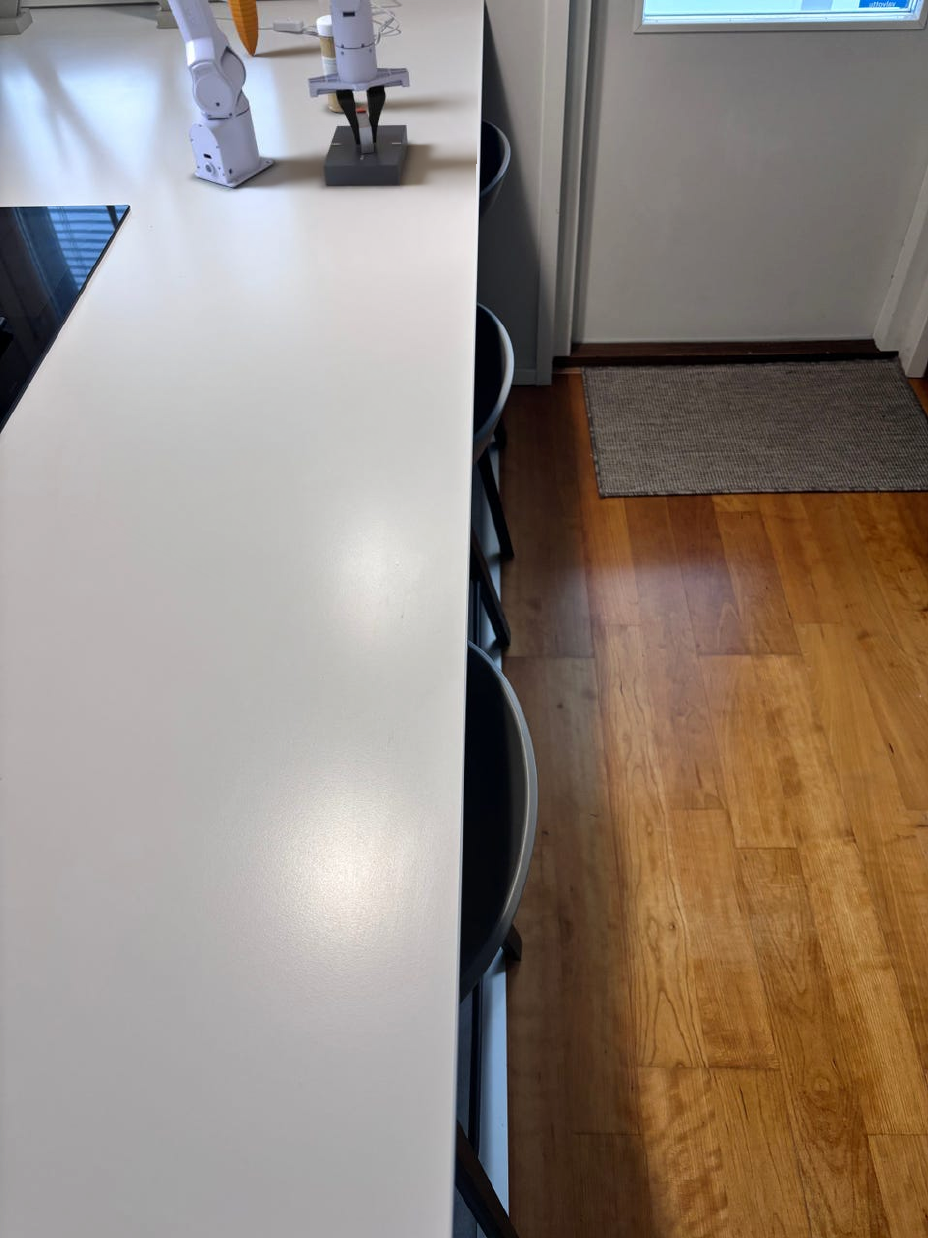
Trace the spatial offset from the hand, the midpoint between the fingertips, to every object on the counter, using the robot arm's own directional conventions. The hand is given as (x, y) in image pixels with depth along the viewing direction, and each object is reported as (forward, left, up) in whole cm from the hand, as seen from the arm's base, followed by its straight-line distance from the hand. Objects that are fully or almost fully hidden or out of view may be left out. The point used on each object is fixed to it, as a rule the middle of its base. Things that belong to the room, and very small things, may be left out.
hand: (365, 140), depth 144 cm
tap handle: (0, 0, 0) cm, 0 cm away
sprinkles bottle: (+15, +17, -4) cm, 23 cm away
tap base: (0, 0, -3) cm, 3 cm away
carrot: (+26, +47, -4) cm, 54 cm away
